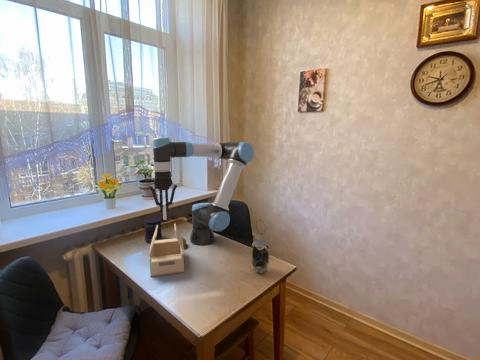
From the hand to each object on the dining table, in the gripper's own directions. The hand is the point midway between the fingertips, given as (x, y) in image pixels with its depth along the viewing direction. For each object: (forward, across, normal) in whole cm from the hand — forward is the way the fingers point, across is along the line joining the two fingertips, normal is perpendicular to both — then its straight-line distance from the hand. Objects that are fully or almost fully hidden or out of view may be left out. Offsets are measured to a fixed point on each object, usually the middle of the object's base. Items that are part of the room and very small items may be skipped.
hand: (164, 218), depth 120 cm
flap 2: (+15, -8, 0) cm, 17 cm away
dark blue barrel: (+25, +8, -31) cm, 40 cm away
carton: (+24, 0, 0) cm, 24 cm away
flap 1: (+15, +8, 0) cm, 17 cm away
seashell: (+24, -5, -17) cm, 30 cm away
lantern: (+24, -44, +16) cm, 53 cm away
